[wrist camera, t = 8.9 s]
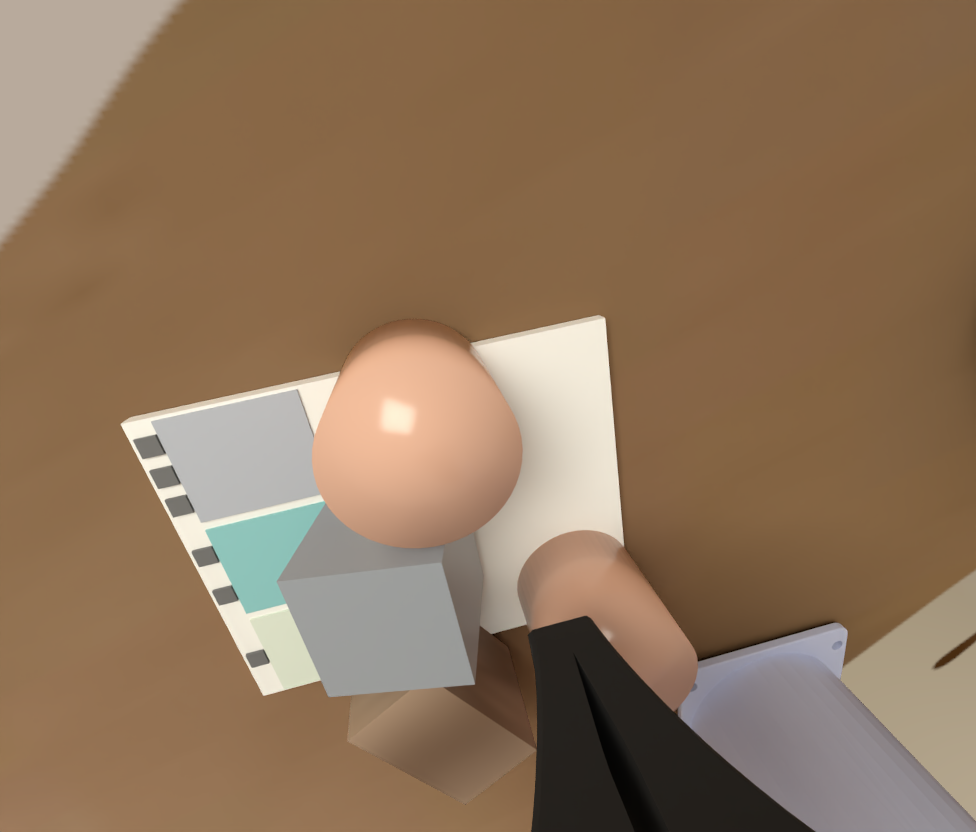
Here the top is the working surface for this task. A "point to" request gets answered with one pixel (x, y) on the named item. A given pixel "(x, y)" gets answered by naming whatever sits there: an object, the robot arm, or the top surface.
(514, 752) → the walnut block
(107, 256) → the top surface
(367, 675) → the matte grey cube
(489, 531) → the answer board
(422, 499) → the peach glossy domed part
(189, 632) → the top surface
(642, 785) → the robot arm
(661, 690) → the peach rounded cylinder
